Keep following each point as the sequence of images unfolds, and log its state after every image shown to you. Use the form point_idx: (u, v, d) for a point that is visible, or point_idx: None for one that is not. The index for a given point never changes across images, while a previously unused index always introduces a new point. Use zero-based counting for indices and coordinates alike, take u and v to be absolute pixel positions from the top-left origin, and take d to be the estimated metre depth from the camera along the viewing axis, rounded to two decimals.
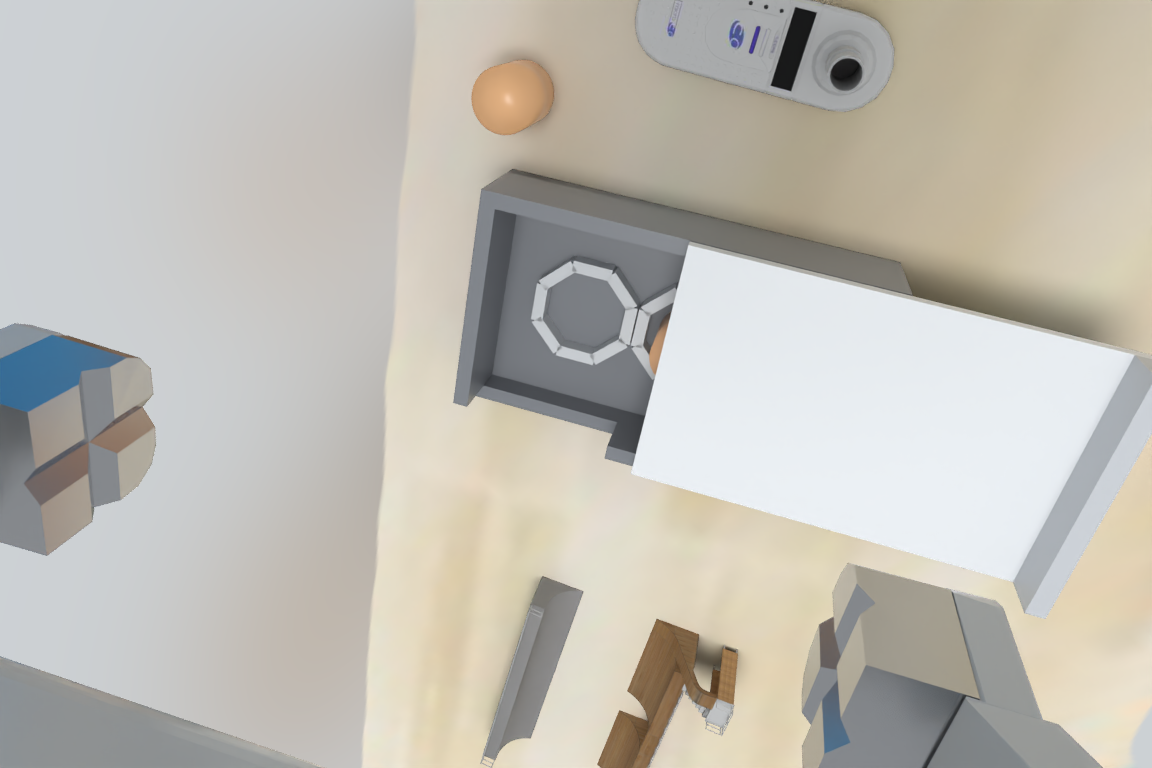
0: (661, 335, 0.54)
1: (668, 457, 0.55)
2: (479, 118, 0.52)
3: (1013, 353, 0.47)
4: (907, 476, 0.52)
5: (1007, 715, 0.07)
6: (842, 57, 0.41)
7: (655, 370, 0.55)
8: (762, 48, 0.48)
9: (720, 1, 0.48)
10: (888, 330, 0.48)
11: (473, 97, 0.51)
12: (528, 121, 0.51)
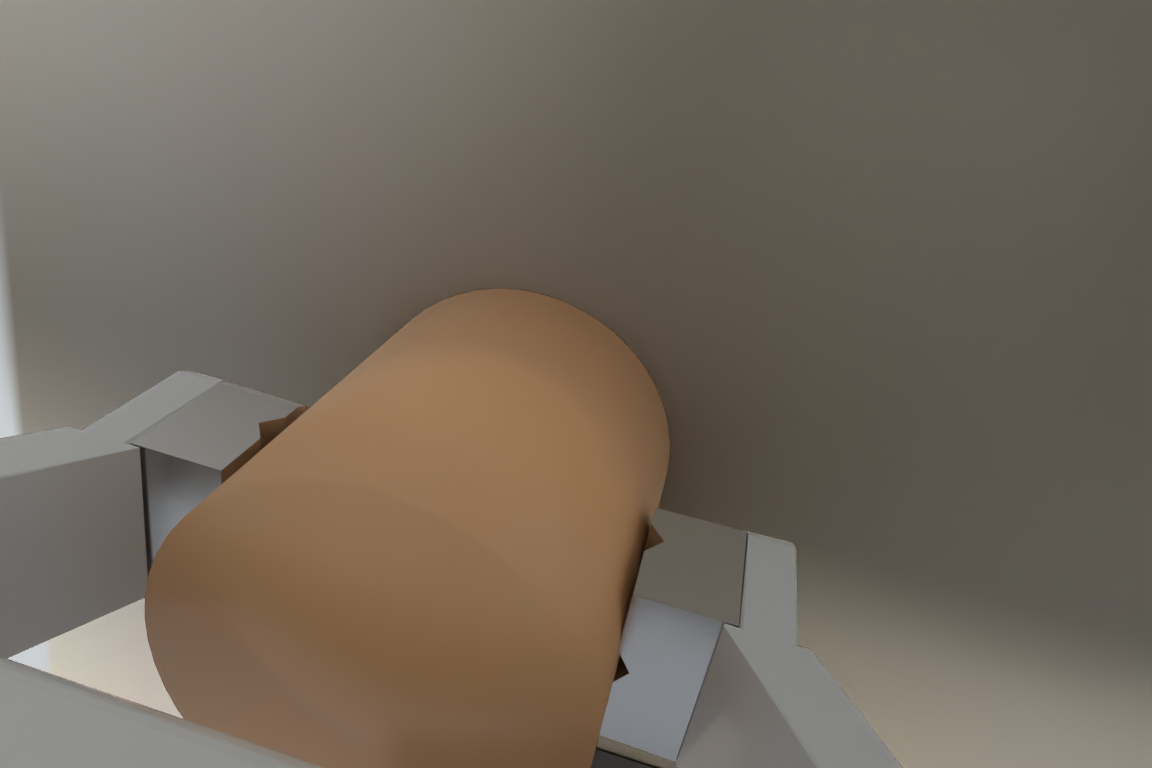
0: None
1: None
2: None
3: None
4: None
5: (761, 640, 0.07)
6: None
7: None
8: None
9: None
10: None
11: (159, 640, 0.07)
12: None
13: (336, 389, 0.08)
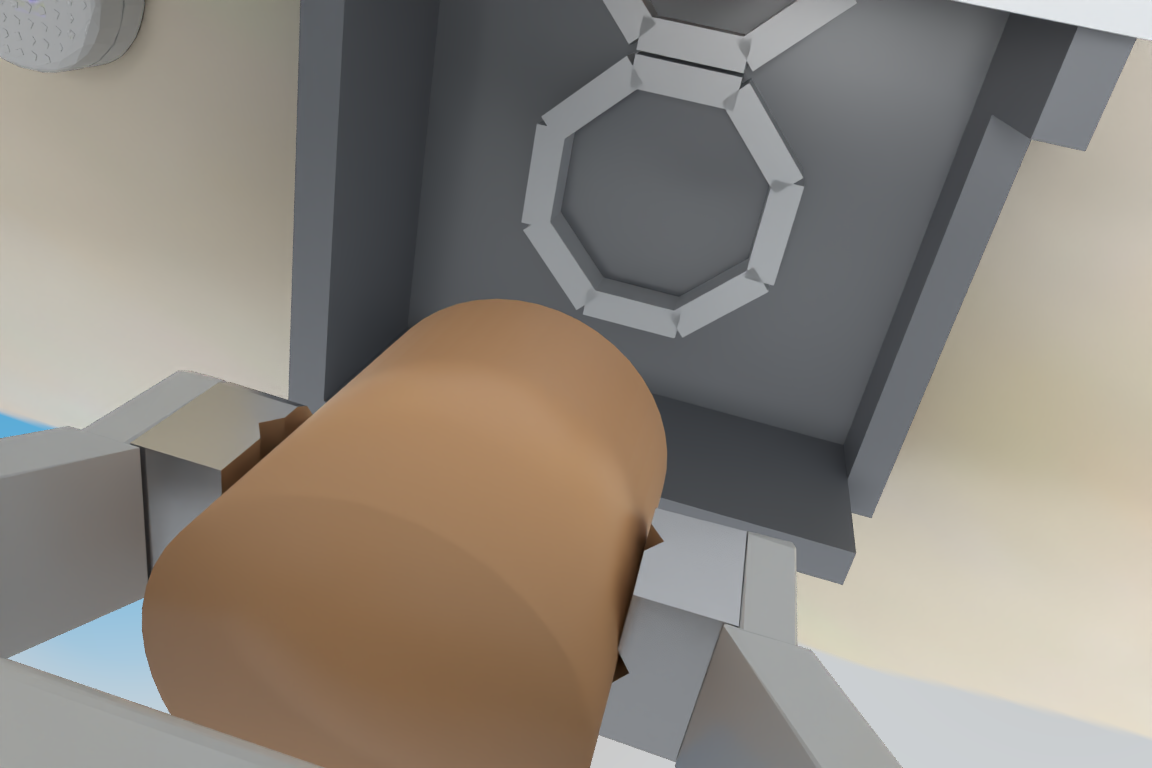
0: None
1: None
2: None
3: None
4: None
5: (760, 640, 0.07)
6: None
7: None
8: None
9: None
10: None
11: (156, 652, 0.07)
12: None
13: (333, 401, 0.08)
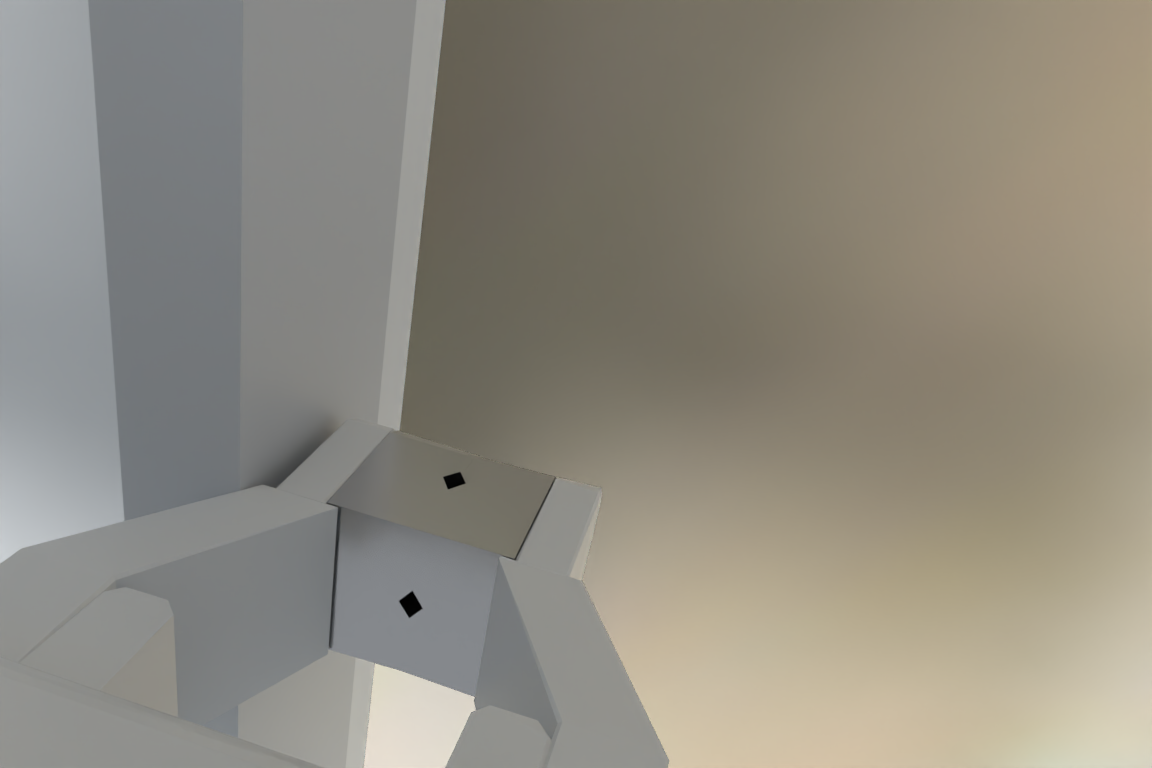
0: None
1: None
2: None
3: None
4: None
5: (531, 571, 0.07)
6: None
7: None
8: None
9: None
10: None
11: None
12: None
13: None
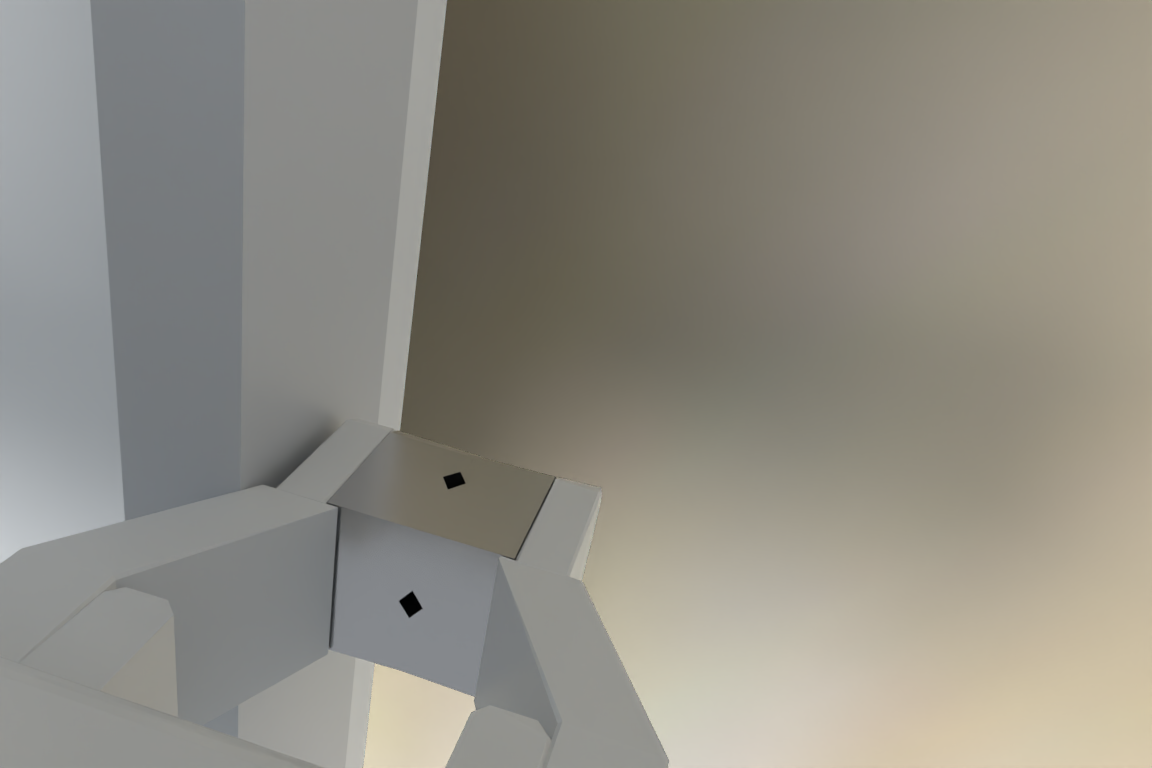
0: None
1: None
2: None
3: None
4: None
5: (531, 571, 0.07)
6: None
7: None
8: None
9: None
10: None
11: None
12: None
13: None
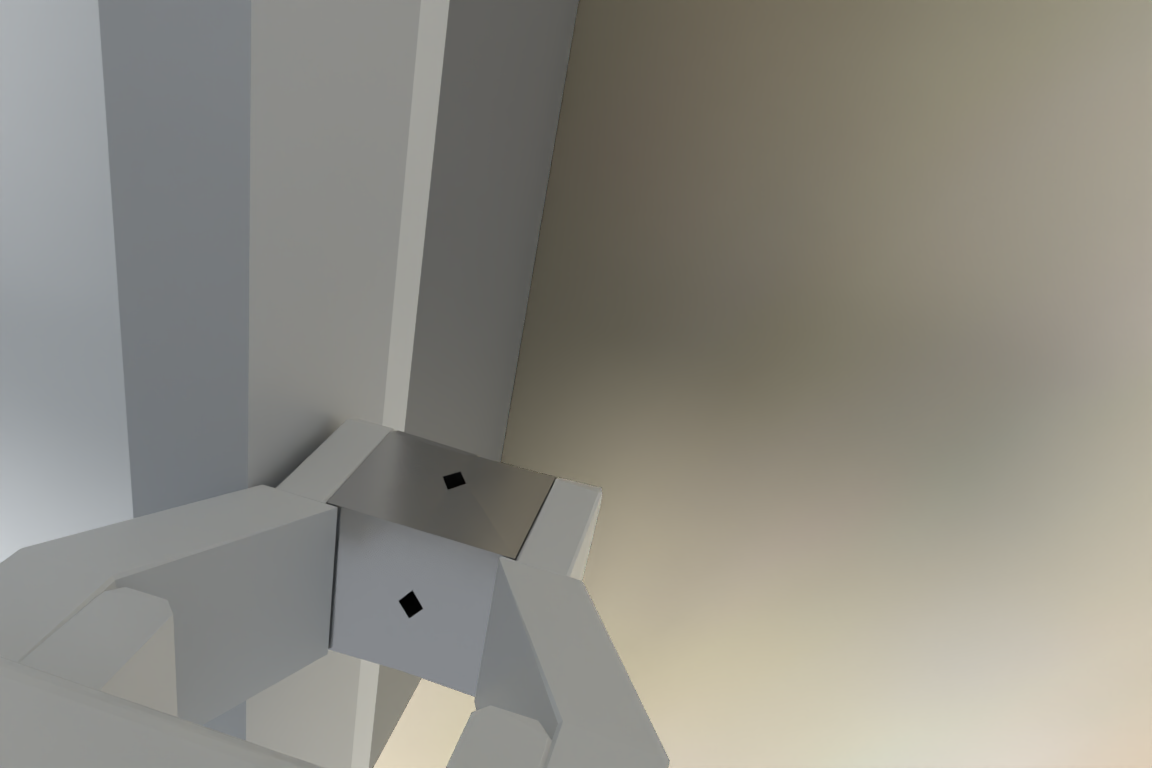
0: None
1: None
2: None
3: None
4: None
5: (532, 571, 0.07)
6: None
7: None
8: None
9: None
10: None
11: None
12: None
13: None
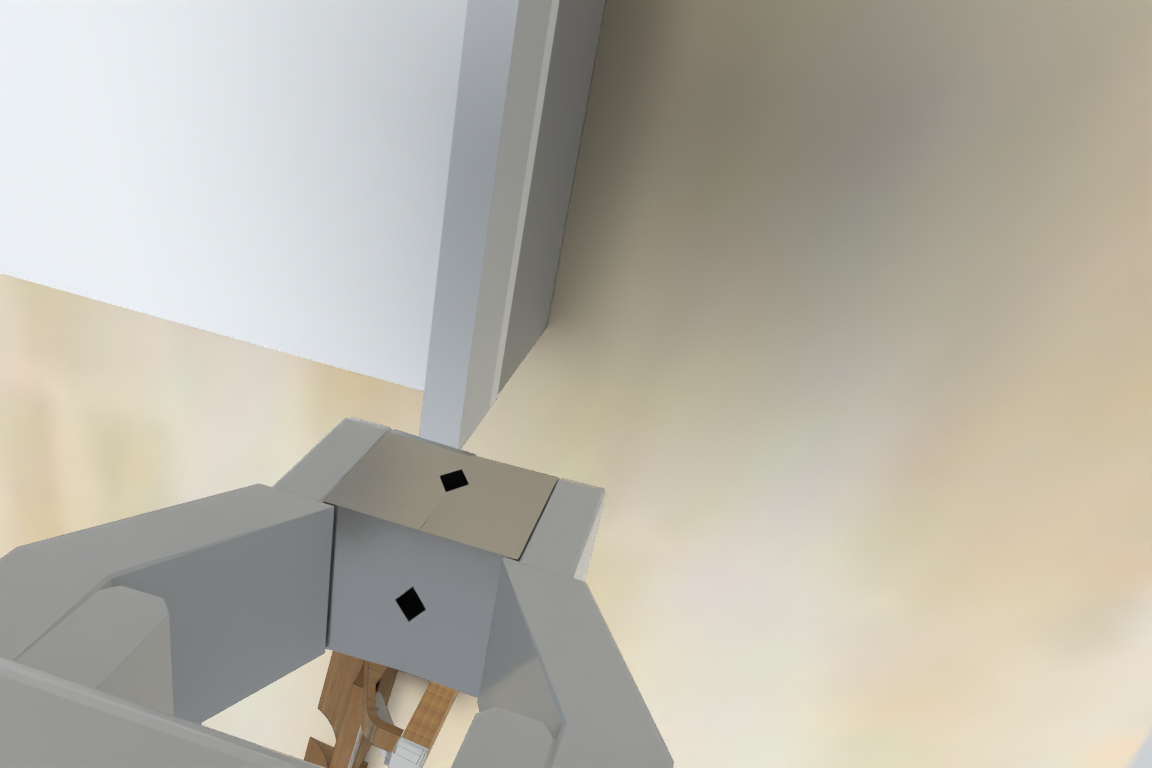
0: None
1: None
2: None
3: None
4: (218, 181, 0.26)
5: (535, 572, 0.07)
6: None
7: None
8: None
9: None
10: None
11: None
12: None
13: None
